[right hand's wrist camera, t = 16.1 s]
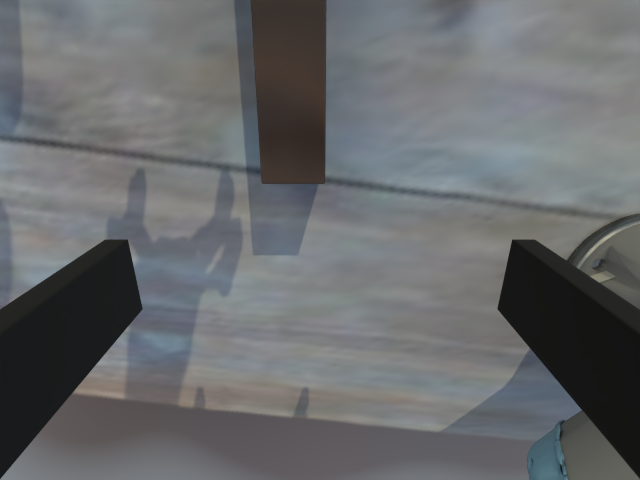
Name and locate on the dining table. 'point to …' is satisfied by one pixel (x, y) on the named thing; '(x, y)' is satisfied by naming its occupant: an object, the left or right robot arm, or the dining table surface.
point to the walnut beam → (290, 89)
